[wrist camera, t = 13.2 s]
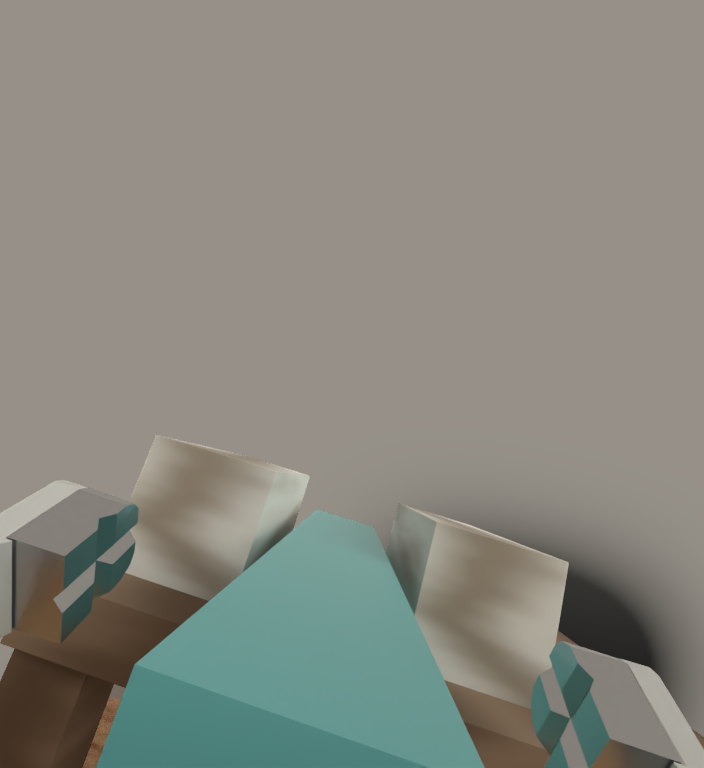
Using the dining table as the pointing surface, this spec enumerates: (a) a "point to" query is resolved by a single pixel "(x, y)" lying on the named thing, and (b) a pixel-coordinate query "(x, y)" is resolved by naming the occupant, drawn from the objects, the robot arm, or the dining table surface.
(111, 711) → the dining table surface
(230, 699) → the module bar
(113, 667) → the shelf
